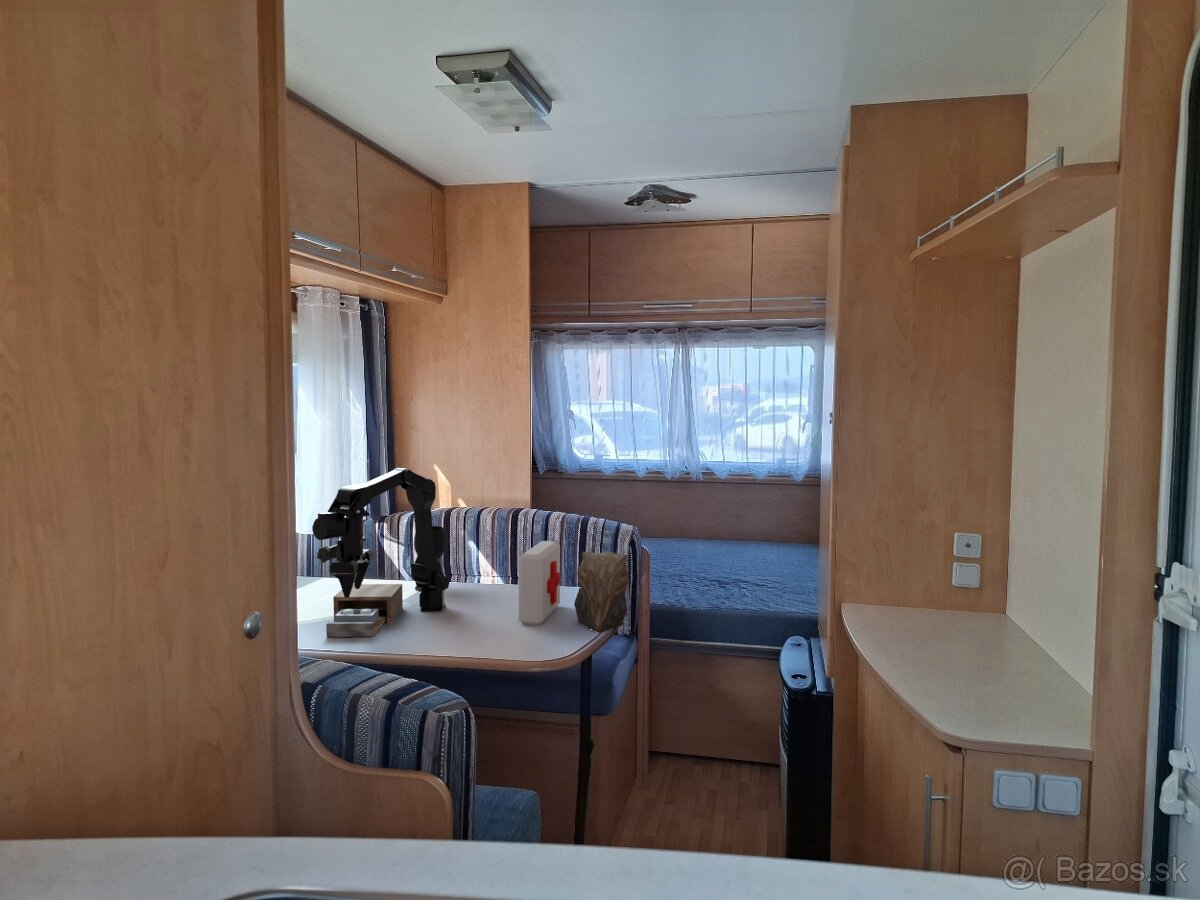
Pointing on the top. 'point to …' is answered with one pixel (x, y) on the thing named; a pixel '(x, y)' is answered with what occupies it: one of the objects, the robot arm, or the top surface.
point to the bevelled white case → (539, 582)
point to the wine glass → (435, 543)
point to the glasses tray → (357, 615)
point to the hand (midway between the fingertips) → (352, 593)
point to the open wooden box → (372, 599)
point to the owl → (602, 590)
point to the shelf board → (353, 628)
